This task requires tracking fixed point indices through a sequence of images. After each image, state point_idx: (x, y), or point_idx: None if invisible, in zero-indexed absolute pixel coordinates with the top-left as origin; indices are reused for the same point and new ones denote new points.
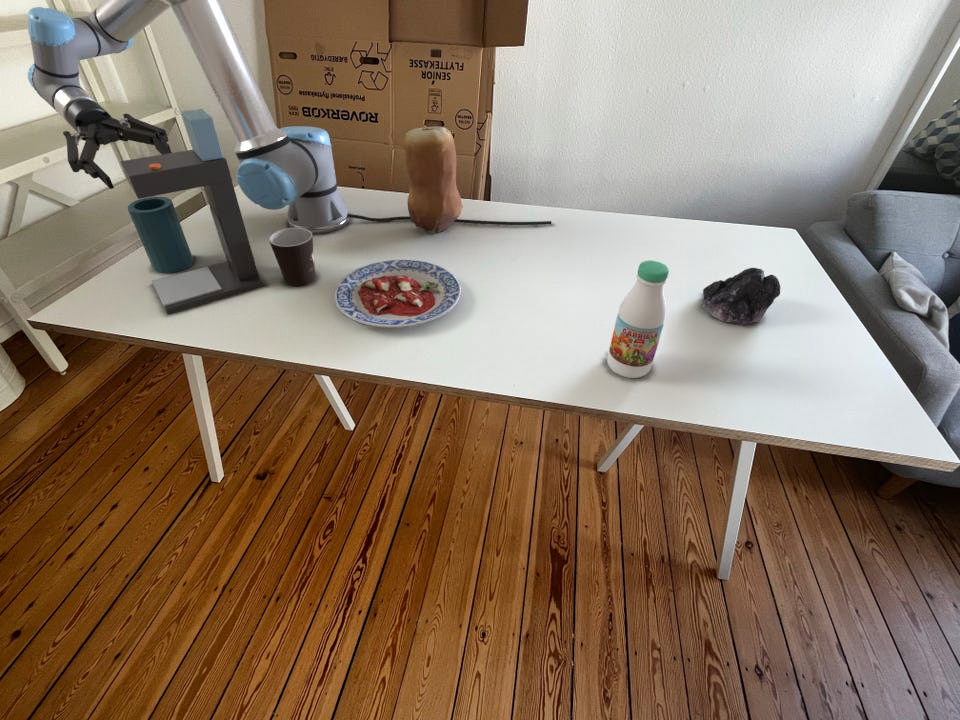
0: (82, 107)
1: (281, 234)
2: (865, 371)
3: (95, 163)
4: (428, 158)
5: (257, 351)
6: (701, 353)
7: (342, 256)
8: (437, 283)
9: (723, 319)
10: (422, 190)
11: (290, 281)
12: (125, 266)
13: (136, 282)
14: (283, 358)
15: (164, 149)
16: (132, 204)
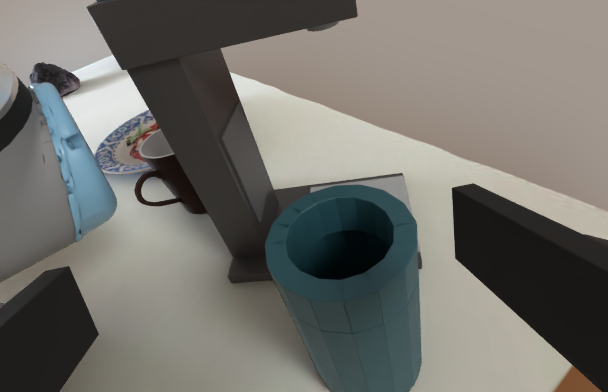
0: None
1: (170, 160)
2: (97, 63)
3: (569, 248)
4: None
5: (323, 110)
6: (119, 75)
7: (118, 230)
8: (126, 138)
9: (79, 84)
10: None
11: None
12: None
13: (463, 300)
14: (307, 101)
15: (21, 306)
16: (398, 256)
